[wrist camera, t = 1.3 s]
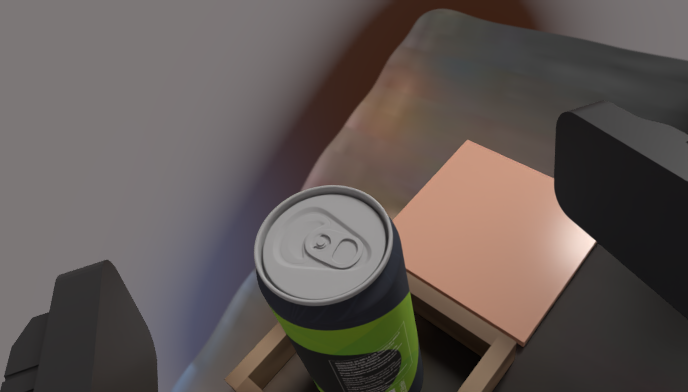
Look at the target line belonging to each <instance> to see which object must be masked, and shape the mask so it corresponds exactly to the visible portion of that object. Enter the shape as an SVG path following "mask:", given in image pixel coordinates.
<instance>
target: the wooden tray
mask: <svg viewBox="0 0 688 392" xmlns="http://www.w3.org/2000/svg"><path fill="white" fill-rule="evenodd" d="M406 273H407V272H406ZM407 278H408V284H409V290H410V295H411V301H412V307H413V311H414V312H416V313H417V314H419V315H420V316H422V317H423V318H425V319H426V320H428V321H429V322H431V323H432V324H434V325H435V326H437V327H438V328H439V329H441V330H442V331H444V332H445V333H447V334H448V335H450V336H451V337H453V338H454V339H456V340H457V341H459V342H460V343H462V344H463V345H465V346H466V347H468V348H469V349H471V350H472V351H474V352H475V353H477V354H478V355H479V356H481V357H482V359H481V360H480V361H479V363H478V364H477V366H476V367H475V368H474V370H473V371H472V372H471V374H470V375H469V376H468V378H467V379H466V381H465V382H464V383H463V385H462V386H461V387H460V389H459V390H458V391H457V392H492V391H493V389H494V388H495V387H496V385H497V384H498V382H499V381H500V380H501V378H502V377H503V375H504V374H505V372H506V371H507V370H508V368H509V367H510V365H511V364H512V363H513V361H514V359H515V352H516V345H517V342H516V341H514V340H513V339H511V338H510V337H508V336H507V335H505V334H503V333H502V332H500V331H499V330H497V329H496V328H494V327H492V326H491V325H489V324H488V323H486V322H485V321H483V320H481V319H480V318H478V317H477V316H475V315H474V314H472V313H470V312H469V311H467V310H466V309H464V308H463V307H461V306H459V305H458V304H456V303H455V302H453V301H452V300H450V299H448V298H447V297H445V296H444V295H442V294H441V293H439V292H437V291H436V290H434V289H433V288H431V287H430V286H428V285H426V284H425V283H423V282H422V281H420V280H418V279H417V278H415V277H414V276H412V275H411V274H409V273H407ZM295 352H296V350H295V348H294V347H293V345H292V343H291V341H290V340H289V338H288V336H287V335H286V333H285V331H284V330H283V328H282V326H281V325H280V323H279V322H278V323H277V324H276V325H275V326H274V328H273V329H272V330H271V331H270V332H269V333H268V334H267V335H266V336H265V337H264V338H263V339H262V340H261V341H260V342H259V343H258V345H257V346H256V347H255V348H254V349H253V350H252V351H251V352H250V353H249V354H248V355H247V356H246V357H245V358H244V359H243V360H242V361H241V363H240V364H239V365H238V366H237V367H236V368H235V369H234V370H233V371H232V372H231V373H230V374H229V375H228V376H227V377H226V378H225V379H224V380H225V381H226V382H227V383H228V384H229V385H230V386H231V387H232V389H233V390H234V391H235V392H264V391H262V389H263V388H264V387H265V386H266V384H267V383H268V382H269V381H270V380H271V379H272V378H273V377H274V376H275V375H276V373H277V372H278V371H279V370H280V369H281V368H282V367H283V366H284V365H285V363H286V362H287V361H288V360H289V359H290V358H291V357H292V356H293V355H294V353H295Z"/></svg>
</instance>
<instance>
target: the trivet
mask: <svg viewBox="0 0 688 392" xmlns="http://www.w3.org/2000/svg"><path fill="white" fill-rule="evenodd" d="M393 223H394V225H395V227H396V229H397V231H398V233H399V236H400V240H401V244H402V250H403V256H404V261H405V267H406V272H407V273H409V274H411V275H412V276H414V277H415V278H417V279H418V280H420V281H422V282H423V283H425V284H426V285H428V286H430V287H431V288H433V289H434V290H436V291H437V292H439V293H441V294H442V295H444V296H445V297H447V298H448V299H450V300H452V301H453V302H455V303H456V304H458V305H459V306H461V307H463V308H464V309H466V310H467V311H469V312H470V313H472V314H474V315H475V316H477V317H478V318H480V319H481V320H483V321H485V322H486V323H488V324H489V325H491V326H492V327H494V328H496V329H497V330H499V331H500V332H502V333H503V334H505V335H507V336H508V337H510V338H511V339H513V340H514V341H516V342H517V343H518V344H519V345H521V346H523V347H524V346H525V344H526V343H527V341H528V340H529V338H530V337H531V336H532V334H533V333H534V331H535V330H536V329H537V327H538V326H539V324H540V323H541V321H542V320H543V319H544V317H545V316H546V314H547V313H548V311H549V310H550V309H551V307H552V306H553V304H554V303H555V302H556V300H557V299H558V297H559V296H560V294H561V293H562V292H563V290H564V289H565V287H566V286H567V285H568V283H569V282H570V280H571V279H572V277H573V276H574V275H575V273H576V272H577V270H578V269H579V268H580V266H581V265H582V263H583V262H584V260H585V259H586V258H587V256H588V255H589V253H590V252H591V250H592V249H593V248H594V246H595V245H596V243H597V242H596V241H595V240H594V239H593V238H592V237H591V236H589V235H588V234H587V233H586V232H585V231H584V230H582V229H581V228H580V227H579V226H578V225H577V224H575V223H574V222H573V221H572V220H571V219H569V218H568V217H567V216H566V215H565V213H564V212H563V211H562V209H561V207H560V206H559V204H558V201H557V199H556V195H555V191H554V178H551V177H549V176H547V175H545V174H543V173H540V172H538V171H536V170H534V169H531V168H529V167H527V166H525V165H523V164H520V163H518V162H516V161H514V160H511V159H509V158H507V157H505V156H503V155H500V154H498V153H496V152H494V151H491V150H489V149H487V148H485V147H483V146H480V145H478V144H476V143H474V142H471V141H469V140H467V141H466V142H465V143H464V144H463V145H462V146H461V147H460V148H459V149H458V150H457V152H456V153H455V154H454V155H453V156H452V157H451V158H450V159H449V160H448V161H447V162H446V163H445V165H444V166H443V167H442V168H441V169H440V170H439V171H438V172H437V173H436V174H435V175H434V176H433V177H432V179H431V180H430V181H429V182H428V183H427V184H426V185H425V186H424V187H423V188H422V189H421V190H420V192H419V193H418V194H417V195H416V196H415V197H414V198H413V199H412V200H411V201H410V202H409V203H408V205H407V206H406V207H405V208H404V209H403V210H402V211H401V212H400V213H399V214H398V215H397V216H396V217H395V219H394V220H393Z"/></svg>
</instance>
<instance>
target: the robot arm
mask: <svg viewBox="0 0 688 392" xmlns="http://www.w3.org/2000/svg"><path fill="white" fill-rule="evenodd" d="M554 191H555V195H556V199H557V201H558V204H559V206H560V207H561V209H562V211H563V212H564V213H565V215H566V216H567V217H568V218H569V219H571V220H572V221H573V222H574V223H575V224H577V225H578V226H579V227H580V228H581V229H582V230H584V231H585V232H586V233H587V234H588V235H589V236H591V237H592V238H593V239H594V240H595V241H596V242H598V243H599V244H600V245H601V246H602V247H604V248H605V249H606V250H607V251H608V252H609V253H611V254H612V255H613V256H614V257H615V258H616V259H618V260H619V261H620V262H621V263H622V264H623V265H625V266H626V267H627V268H628V269H629V270H631V271H632V272H633V273H634V274H635V275H636V276H638V277H639V278H640V279H641V280H642V281H643V282H645V283H646V284H647V285H648V286H649V287H651V288H652V289H653V290H654V291H655V292H656V293H658V294H659V295H660V296H661V297H662V298H663V299H665V300H666V301H667V302H668V303H669V304H670V305H672V306H673V307H674V308H675V309H676V310H678V311H679V312H680V313H681V314H682V315H683V316H685V317H686V318H687V319H688V134H686V133H684V132H682V131H680V130H678V129H676V128H674V127H672V126H670V125H666V124H662V123H658V122H654V121H650V120H646V119H643V118H639V117H637V116H635V115H633V114H631V113H629V112H628V111H626V110H624V109H622V108H620V107H618V106H616V105H614V104H613V103H611V102H608V101H604V100H602V101H598V102H595V103H592V104H589V105H585V106H582V107H579V108H576V109H573V110H570V111H567V112H564V113H562V114H561V115H560V116H559V118H558V120H557V124H556V142H555V169H554ZM4 377H5V382H3V383H2V386H1V390H0V392H158V377H157V359H156V351H155V347H154V343H153V340H152V337H151V334H150V332H149V329H148V327H147V325H146V323H145V321H144V319H143V317H142V315H141V314H140V312H139V310H138V308H137V306H136V304H135V302H134V301H133V299H132V297H131V295H130V293H129V291H128V290H127V288H126V286H125V284H124V282H123V280H122V279H121V277H120V275H119V273H118V271H117V270H116V268H115V266H114V265H113V264H112V263H111V262H110V261H109V260H104V261H101V262H98V263H95V264H92V265H89V266H86V267H83V268H80V269H77V270H73V271H70V272H67V273H65V274H61V275H59V276H58V277H57V279H56V282H55V287H54V291H53V296H52V301H51V306H50V311H49V313H45V314H43V315H39V316H37V317H33V318H32V319H31V320H30V322H29V323H28V325H27V326H26V328H25V329H24V331H23V332H22V333H21V335H20V336H19V338H18V339H17V340H16V342H15V343H14V345H13V346H12V348H11V352H10V356H9V359H8V363H7V367H6V371H5V375H4Z"/></svg>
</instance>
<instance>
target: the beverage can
mask: <svg viewBox="0 0 688 392" xmlns="http://www.w3.org/2000/svg"><path fill="white" fill-rule="evenodd" d="M254 260H255V265H256V273H257V280H258V284H259V287H260V290H261V292H262V294H263V296H264V297H265V299H266V301H267V303H268V304H269V306H270V308H271V309H272V311H273V313H274V314H275V316H276V318H277V319H278V321H279V323H280V325H281V326H282V328H283V330H284V331H285V333H286V335H287V336H288V338H289V340H290V341H291V343H292V345H293V347H294V348H295V350H296V352H297V353H298V355H299V357H300V358H301V360H302V362H303V363H304V365H305V367H306V369H307V370H308V372H309V374H310V375H311V377H312V379H313V380H314V382H315V384H316V385H317V387H318V389H319V391H320V392H420V390H421V387H422V383H423V363H422V358H421V352H420V346H419V341H418V335H417V329H416V324H415V318H414V312H413V307H412V301H411V295H410V290H409V284H408V278H407V273H406V267H405V261H404V256H403V250H402V244H401V240H400V236H399V233H398V231H397V229H396V227H395V225H394V223H393V221H392V220H391V219H390V217H389V216H388V215H387V213H386V212H385V210H384V209H383V207H382V206H381V205H380V204H379V203H378V202H377V201H376V200H375V199H374V198H372V197H371V196H370V195H368V194H366V193H364V192H362V191H360V190H357V189H354V188H351V187H346V186H338V185H328V186H319V187H314V188H310V189H307V190H304V191H302V192H299V193H297V194H295V195H293V196H291V197H289V198H288V199H286V200H285V201H283V202H282V203H281V204H279V205H278V206H277V207H276V208H275V209H274V210H273V211H272V212H271V213H270V214H269V215H268V216H267V218H266V219H265V221H264V222H263V224H262V225H261V228H260V229H259V232H258V234H257V237H256V241H255V246H254Z"/></svg>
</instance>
